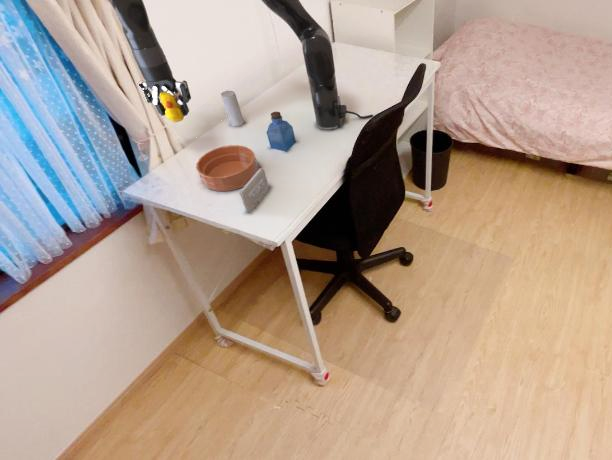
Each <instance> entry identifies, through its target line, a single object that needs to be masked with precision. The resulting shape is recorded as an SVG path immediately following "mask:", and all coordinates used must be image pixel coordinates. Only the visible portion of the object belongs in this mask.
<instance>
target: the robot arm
mask: <svg viewBox="0 0 612 460" xmlns="http://www.w3.org/2000/svg"><path fill="white" fill-rule="evenodd" d="M260 1H261V2H262V3H263V4H264V5H265V6H266V7H267V8H268V9H269V10H270V11H271V12H273V14H275V15H276V16H278V17H279V18H280V19H281V20H283V21H284V22H285V23H286V24H287V25H288V27H289V28H290V29H291V30H292V31H293V33H294V34H295V36H296V37H297V38H298V40H299V42H300V44H301V48H302V54H303V59H304V65H305V69H306V70H305V71H306V75H307V80H308V85H309V90H310V96H311V101H312V106H313V112H314V117H315V124H316V127H317V128H318V129H320V130H324V131H332V130H336V129H340V128H341V129H342V124H343V120H345V119H346V117H347V114H351V115H355V116H356V117H358V118H359V119H369V118H373V117H374V115H373V114H368V115H364V116H362V115H360V114H359V113H356V112H354V111H349V110H348V107H347V104H341V97H340V95H339V92H338V85H337V78H336V76H337V75H336V68H335V61H334V53H333V46H332V43H331V42H332V41H331V38H330V36H329V34H328V33H327V31H326V30H325V29H324V28H323V27H322V26H321V25H320V24H319V23H318V22H317V21H316V20H315V19H314V17H312V16H311V14H310V13H309V12H308V11H307V10H306V8H305V7H304V6H303V4H302V2H301V0H260ZM107 2H108V3H109V4H110V5H111V7H112V8H113V9H114V12H115V14H116V16H117V17H118V20H119V22H120V24H121V29H122V32H123V34H124V37H125V39H126V41H127V44H128V46H129V47H130V51H131V53H132V56H133V59H134V61H135V62H136V63H135V64H136V65H137V67H138V69H139V72H140V73H141V74H140V75H142V79H144V82H142V83H141V84H139V86H140V87H141V88H142V90H143V91H144V94H145V97H146V99H147V102H148V103H147V102H146V103H147V104H153V105H154V106H155V109H156V110H157V112H158V114H159V115H160V116H166V114H165V107H164V106H163V105H162V104H161V102H160V99H159V94H160V93H161V92H167V93H168V94H170V95H172V96H173V97H174V99H176V101H177V102H178V103H179V104H180V105H179V106H180V109H181V111H182V113H183V115H184V117H186V116H188V114H189V112H190V109H189V106H188V104H189V102H190V101H191V100H192V96H191V92H190V89H189V88H190V87H189V85H188V81H186V80H182V81H177V80H176V79H175V78H174V76H173V72H172V69H171V67H170V64H169V62H168V59H167V56H166V55H165V52H164V50H163V48H162V47H161V45H160V42H159V40H158V38H157V36H156V33H155V31H154V29H153V27H152V25H151V23H150V19H149V15H148V12H147V8H146V6H145V3H144V0H107ZM148 89H149V90H148ZM150 90H151V91H152V92H151V91H150ZM148 93H149V95H150V97H148V95H147V94H148ZM174 93H175V94H174Z"/></svg>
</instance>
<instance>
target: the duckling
mask: <svg viewBox="0 0 612 460" xmlns="http://www.w3.org/2000/svg"><path fill="white" fill-rule="evenodd" d="M174 94H175V92H174ZM159 99H160V102H161V104H162V105H163V106H164V108H165V117H166V118H167V119H168V120H169V121H170V122H173V123H179V122H182V121H183V120H184V118H185V116H184V115H183V113H182V111H181V109H180V106H179V105H180V104H179V103H178V102H177V101H176V99H174V97H173V96H172V95H170V94H168V93H167V92H161V93H160V94H159Z"/></svg>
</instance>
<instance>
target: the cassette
mask: <svg viewBox="0 0 612 460" xmlns="http://www.w3.org/2000/svg"><path fill="white" fill-rule="evenodd" d="M269 189H270V184H269V182H268V177H267V175H266V171H265V169H264V168H263V167H260V168H259V170H258V171H257V172H256V173H255V175H254V176H253V177H252V178H251V179H250V180H249V181H248V183H247V184H246V185H245V186H243V187H241V189H240V191H239V195H240V197H241V200H242V204H243V207H244V209H245V211H246V213H251V212H252V211H253V210H254V209H256V207H257V206H258V205H259V203H260V202H261V201H262V199H263V198H264V197H265V196H266V195H267V193H268V191H269Z"/></svg>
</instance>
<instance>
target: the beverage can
mask: <svg viewBox="0 0 612 460" xmlns="http://www.w3.org/2000/svg"><path fill="white" fill-rule="evenodd" d="M220 98H221V100H222V104H223V106H224V109H225V112H226V115H227V118H228V120H229V123H230V125H231V126H232V127H235V128H236V127H237V128H238V127H241V126H243V125H244V124H245V120H244V117H243V114H242V110H241V107H240V104H239V101H238V97H237V95H236V93H235V91H233V90H226V91H223V92H221V94H220Z"/></svg>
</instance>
